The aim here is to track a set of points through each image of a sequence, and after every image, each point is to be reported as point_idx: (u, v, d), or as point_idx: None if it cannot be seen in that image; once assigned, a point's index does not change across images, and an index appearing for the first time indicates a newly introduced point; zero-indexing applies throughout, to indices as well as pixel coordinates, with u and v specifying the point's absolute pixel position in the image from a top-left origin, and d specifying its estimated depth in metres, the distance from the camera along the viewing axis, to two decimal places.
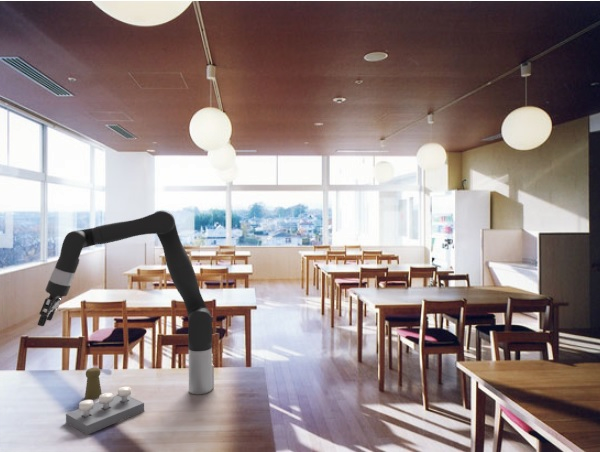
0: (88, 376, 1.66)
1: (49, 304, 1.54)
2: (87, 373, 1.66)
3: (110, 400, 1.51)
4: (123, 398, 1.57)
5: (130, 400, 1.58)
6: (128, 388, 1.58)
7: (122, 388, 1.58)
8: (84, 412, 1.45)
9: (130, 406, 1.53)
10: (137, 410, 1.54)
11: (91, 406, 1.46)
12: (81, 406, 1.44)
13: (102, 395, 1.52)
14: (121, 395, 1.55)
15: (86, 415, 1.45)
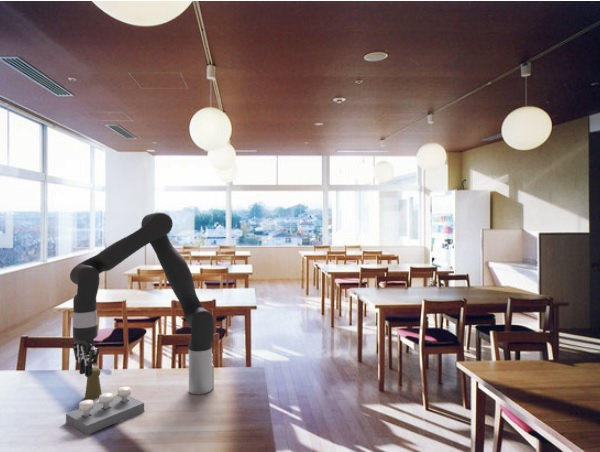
0: (88, 376, 1.66)
1: (97, 353, 1.43)
2: None
3: (110, 400, 1.51)
4: (123, 398, 1.57)
5: (130, 400, 1.58)
6: (128, 388, 1.58)
7: (122, 388, 1.58)
8: (84, 412, 1.45)
9: (130, 406, 1.53)
10: (137, 410, 1.54)
11: (91, 406, 1.46)
12: (81, 406, 1.44)
13: (102, 395, 1.52)
14: (121, 395, 1.55)
15: (86, 415, 1.45)
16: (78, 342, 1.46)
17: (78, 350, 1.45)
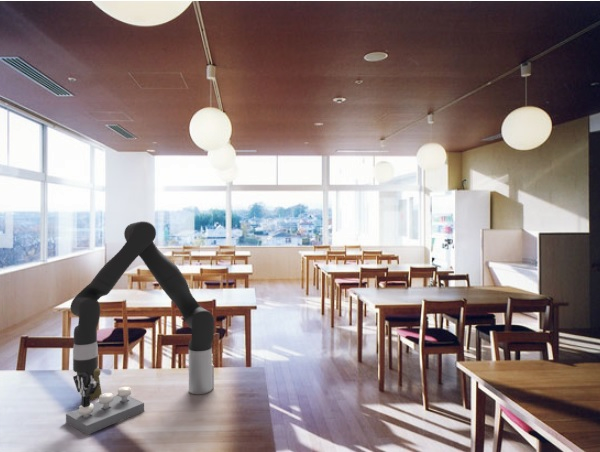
0: None
1: (96, 387, 1.43)
2: None
3: (110, 400, 1.51)
4: (123, 398, 1.57)
5: (130, 400, 1.58)
6: (128, 388, 1.58)
7: (122, 388, 1.58)
8: (84, 416, 1.45)
9: (130, 406, 1.53)
10: (137, 410, 1.54)
11: (91, 410, 1.46)
12: (81, 410, 1.44)
13: (102, 395, 1.52)
14: (121, 395, 1.55)
15: None
16: (78, 373, 1.47)
17: (79, 382, 1.45)
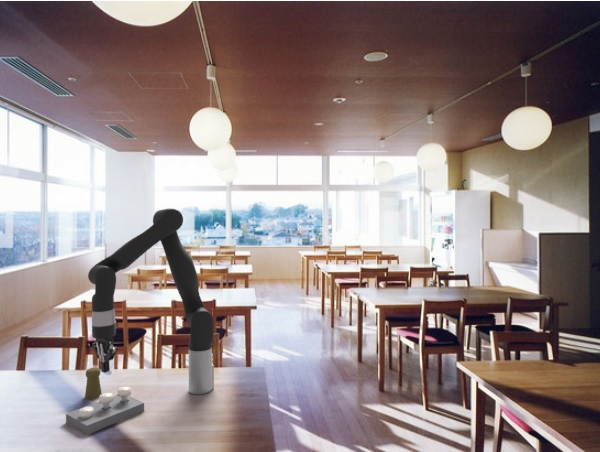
0: (88, 376, 1.66)
1: (115, 352, 1.48)
2: (87, 373, 1.66)
3: (110, 400, 1.51)
4: (123, 398, 1.57)
5: (130, 400, 1.58)
6: (128, 388, 1.58)
7: (122, 388, 1.58)
8: None
9: (130, 406, 1.53)
10: (137, 410, 1.54)
11: (91, 413, 1.46)
12: (81, 413, 1.44)
13: (102, 395, 1.52)
14: (121, 395, 1.55)
15: None
16: (97, 340, 1.51)
17: (98, 348, 1.50)
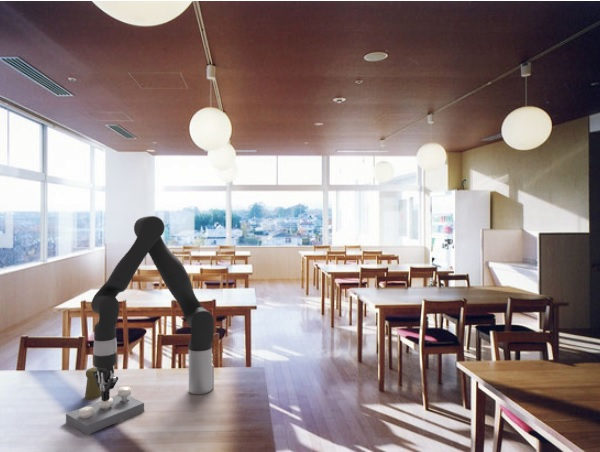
0: (88, 376, 1.66)
1: (115, 381, 1.49)
2: (87, 373, 1.66)
3: (110, 405, 1.51)
4: (123, 398, 1.57)
5: (130, 400, 1.58)
6: (128, 388, 1.58)
7: (122, 388, 1.58)
8: None
9: (130, 406, 1.53)
10: (137, 410, 1.54)
11: (91, 413, 1.46)
12: (81, 413, 1.44)
13: None
14: (121, 395, 1.55)
15: None
16: (98, 368, 1.52)
17: (99, 377, 1.51)
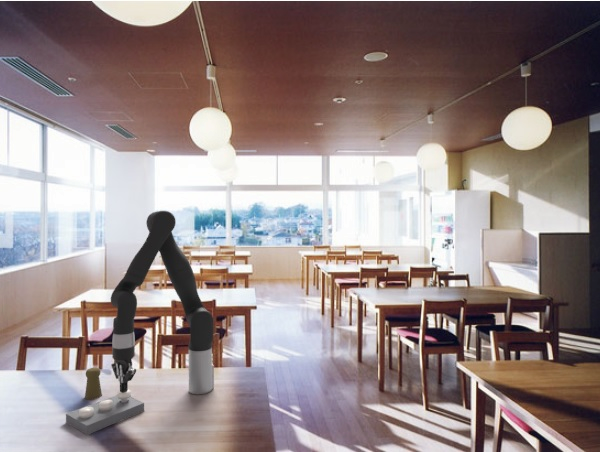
0: (88, 376, 1.66)
1: (133, 373, 1.55)
2: (87, 373, 1.66)
3: (110, 407, 1.51)
4: (123, 401, 1.57)
5: (130, 400, 1.58)
6: (128, 391, 1.58)
7: None
8: None
9: (130, 406, 1.53)
10: (137, 410, 1.54)
11: (91, 413, 1.46)
12: (81, 413, 1.44)
13: (102, 402, 1.52)
14: (121, 398, 1.55)
15: None
16: (116, 361, 1.58)
17: (117, 369, 1.57)
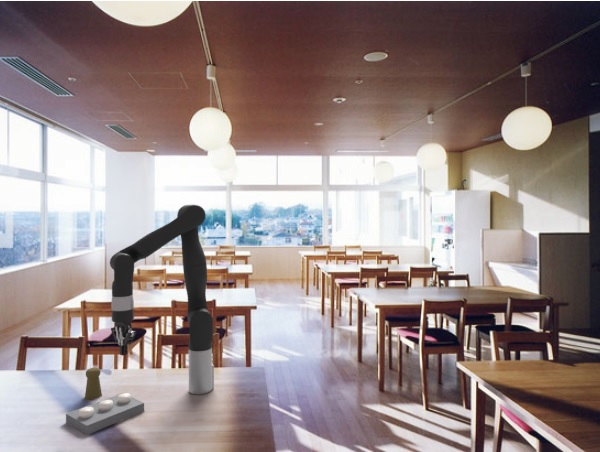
0: (88, 376, 1.66)
1: (133, 336, 1.55)
2: (87, 373, 1.66)
3: (110, 407, 1.51)
4: None
5: None
6: (128, 395, 1.58)
7: (122, 395, 1.58)
8: None
9: (130, 406, 1.53)
10: (137, 410, 1.54)
11: (91, 413, 1.46)
12: (81, 413, 1.44)
13: (102, 402, 1.52)
14: (121, 402, 1.55)
15: None
16: (116, 324, 1.58)
17: (117, 332, 1.57)
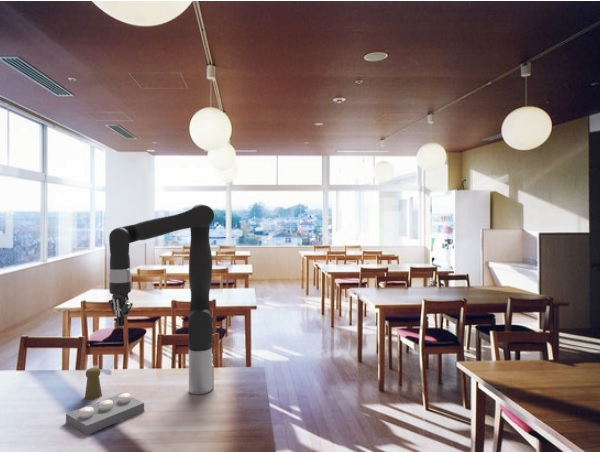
0: (88, 376, 1.66)
1: (130, 307, 1.60)
2: (87, 373, 1.66)
3: (110, 407, 1.51)
4: None
5: None
6: (128, 395, 1.58)
7: (122, 395, 1.58)
8: None
9: (130, 406, 1.53)
10: (137, 410, 1.54)
11: (91, 413, 1.46)
12: (81, 413, 1.44)
13: (102, 402, 1.52)
14: (121, 402, 1.55)
15: None
16: (113, 296, 1.64)
17: (114, 304, 1.62)
